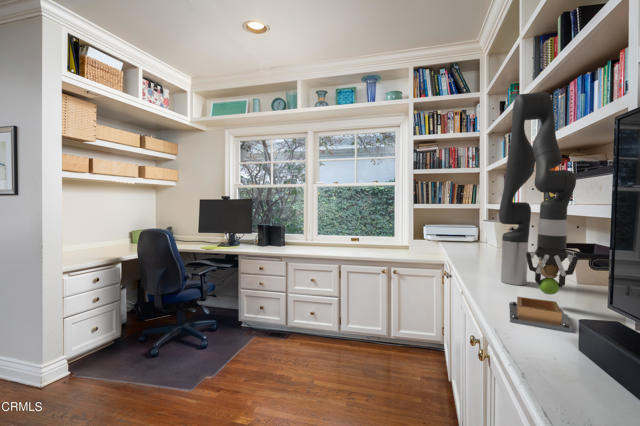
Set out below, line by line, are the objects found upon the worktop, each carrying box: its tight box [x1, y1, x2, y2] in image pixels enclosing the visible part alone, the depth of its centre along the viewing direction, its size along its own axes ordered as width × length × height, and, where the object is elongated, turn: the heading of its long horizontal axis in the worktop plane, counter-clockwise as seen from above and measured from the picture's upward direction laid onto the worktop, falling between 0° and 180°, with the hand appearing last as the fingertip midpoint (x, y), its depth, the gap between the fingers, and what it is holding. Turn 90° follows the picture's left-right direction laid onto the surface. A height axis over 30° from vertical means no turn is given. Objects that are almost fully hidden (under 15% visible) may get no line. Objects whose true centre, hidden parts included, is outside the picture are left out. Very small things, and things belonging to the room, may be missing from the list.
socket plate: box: [508, 296, 573, 333], centre depth 94 cm, size 16×14×4 cm
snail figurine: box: [538, 257, 561, 296], centre depth 104 cm, size 5×6×12 cm
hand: (549, 285), depth 104 cm, fingers closed on snail figurine, 5 cm apart
